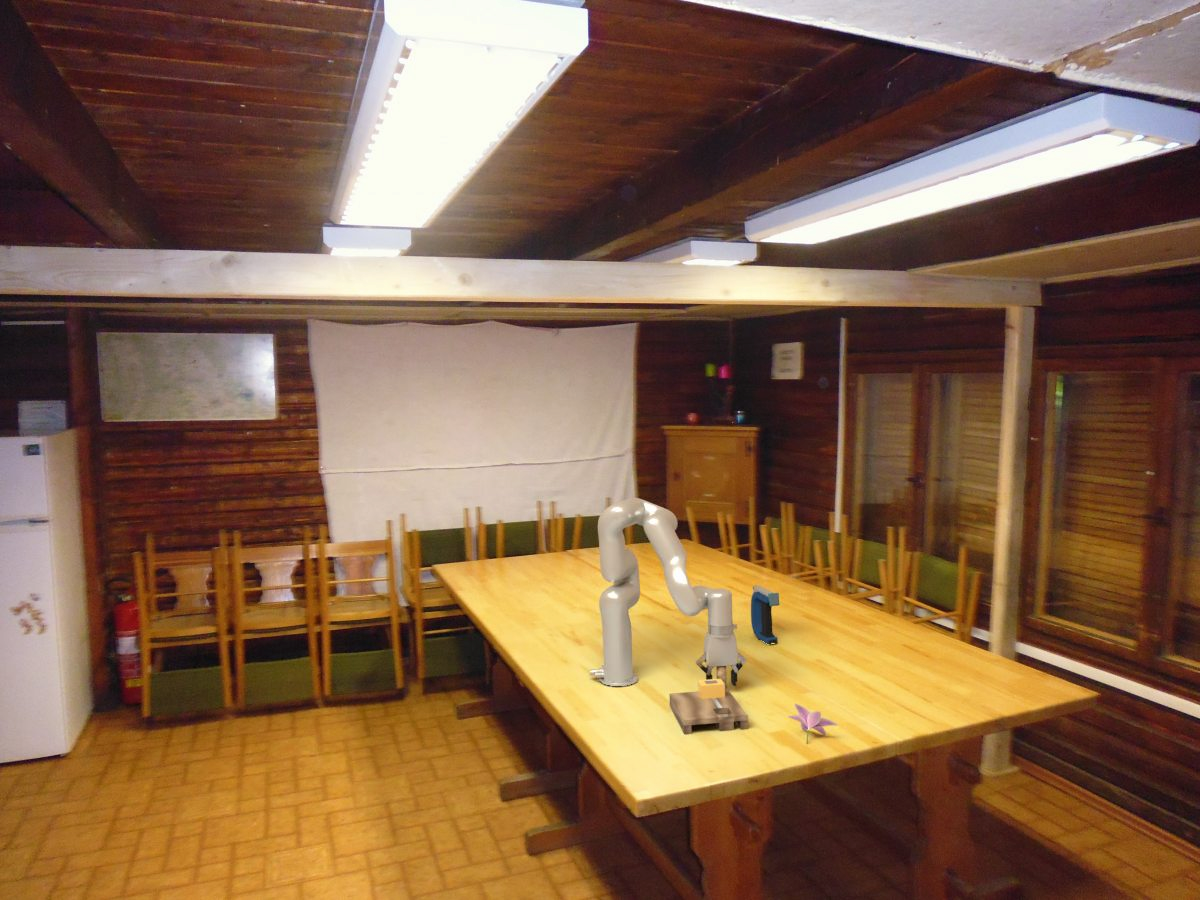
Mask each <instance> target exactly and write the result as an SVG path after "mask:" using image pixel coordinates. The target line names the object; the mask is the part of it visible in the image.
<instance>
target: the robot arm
mask: <svg viewBox="0 0 1200 900" xmlns="http://www.w3.org/2000/svg"><path fill="white" fill-rule="evenodd" d="M636 524H637V525H639V526H642V527H643V530H644V534H645V536H646V537H647V538H648V541H649V542H650V544H651V547H652V548H653V550H654V551H655V554H656V556H657V557H658V559H659V561H660V563H661V566H662V570H663V574H664V580H665V583H666V586H667V590H668V593H669V594H670V596H671V598H672V600H673V602H674V603H675V606H676V607H677V608H678V611H680V612H681V614H683V615H684V616H687V617H695V616H698V615H699V614H700V613H701V612H702V611H704V610H707V630H708V631H707V632H706V633H705V636H704V642H703V643H704V644H703V654H702V655H701V656H700V657H699V658H698V659H697V660H695V664H696V665H697V667H698V668H700V670H701V671H703V672H704V674H705V680H710V679H713V674H712V672H713V669H714V667H715V668H717V667H719V666H726V667H731V670H730V683H731V685H732V686H734V687H736V686H737V682H738V674H739V671H740V670H741V669H742V668H743V666H744V665H745V664H746V662H747V661H748V660H747V658H746V657H745V656H744V655H742V654H741V653H740V652H739V649H738V643H737V637H736V633H735V632H734V630H736V629H738V624H736V623H735V624H734V623H733V596H732V592H731V591H730V590H729V589H727V588H713V587H708V586H703V585H694V586H692V585H691V582H690V580H689V578H688V574H687V561H688V560H687V559H688V558H687V557H688V556H687V555H688V554H687V551H686V549H685V548H684V546H683V544H682V542H681V541H680V539H679V537H678V535H677V533H676V530H677V529H678V519H677V517H676V515H675V514H674V513H673V512H672V511H670V510H669V509H667V508H664V507H662V506H659V505H657V504H654V503H652V502H650V501H647V500H644V499H642V498H638V497H629V498H626V499H624V500H620V501H618V502H617V501H616V502H615V503H613V504H611V505H609V506H608V507H606V508H605V509H604V510H603V511H601V514H600V516H599V517H598V522H597V535H598V546H599V547H598V548H599V564H600V565H599V566H600V573H601V576H602V578H603V580H605V581H607V582H609V583H613V584H612V585H610V586H609V587H607V588H606V589H604V591H602V594H601V595H600V597H599V601H598V602H599V603H598V605H599V611H600V617H601V626H602V629H601V630H602V646H603V648H602V652H603V653H602V654H603V664H602V666H601V667H599V669H595V668H594V669H589V675H590V676H594V678H599V682H600V681H601V682H602V683H604V684H606V685H605V686H607V685H610V686H609V687H612V686H622V687H627V685H628V686H632V685H635V684H636V683H637V682H638V680H639V677H638V674H637V673H636V672H634V666H633V662H634V661H633V638H632V637H633V636H632V622H631V618H630V615H629V610H630V609H632V608H633V607H634V606H635V605H636V604H637V603H638V602H639V600H640V597H641V583H640V582H641V581H640V568H639V561H638V558H637V556H636V554H635V553H634V551H632V550H631V549H629V548H626V540H625V535H624V532H623V530H624V529H625V528H628V527H630V526H633V525H636ZM739 659H740V660H739ZM703 663H706V666H705V665H704V664H703ZM601 682H600V683H601ZM602 683H601V684H602ZM604 684H603V685H604ZM631 684H632V685H631Z"/></svg>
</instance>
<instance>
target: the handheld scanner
mask: <svg viewBox="0 0 1200 900" xmlns="http://www.w3.org/2000/svg"><path fill="white" fill-rule="evenodd" d="M751 595H752V596H751V600H750V618H751V619H750V621H751V622H750V623H751V628H752V632H753V634H754V636H755V637H757V638H759V639H760V640H762V641H764V642H765V643H767V644H771V643H777V644H778V637H777V636H776V635H774V634H773V617H772V607H776V606H777V607H778V606H780V594H779V592H773V591H771V590H769V589H767V588H766V587H763V586H761V585H753V587H752V594H751ZM757 638H756V639H757ZM759 639H758V640H759ZM760 640H759V641H760ZM762 641H761V642H762ZM765 643H764V644H765ZM767 644H766V645H767Z"/></svg>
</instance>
